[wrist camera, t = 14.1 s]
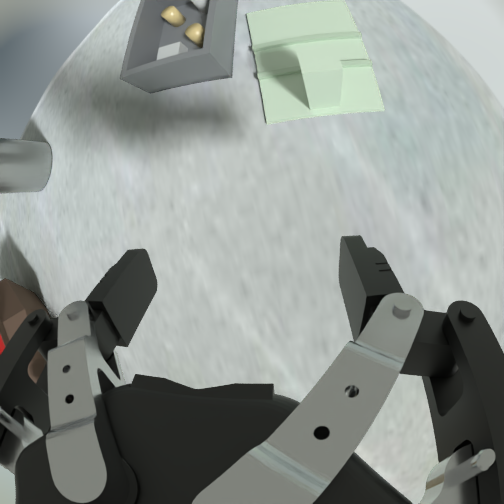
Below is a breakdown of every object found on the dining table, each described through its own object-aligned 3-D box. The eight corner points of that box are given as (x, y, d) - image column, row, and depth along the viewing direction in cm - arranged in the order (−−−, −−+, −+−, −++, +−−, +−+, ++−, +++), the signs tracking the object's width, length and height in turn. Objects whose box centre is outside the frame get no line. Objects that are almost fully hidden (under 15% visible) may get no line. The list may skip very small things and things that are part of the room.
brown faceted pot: (12, 259, 44) (-42, 273, 29) (60, 285, 39) (-14, 311, 23) (27, 347, 49) (-16, 368, 34) (81, 389, 43) (29, 426, 28)
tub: (150, 93, 28) (119, 78, 23) (166, 11, 26) (144, -9, 20) (231, 77, 25) (209, 53, 20) (238, -8, 23) (222, -34, 17)
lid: (268, 125, 26) (242, 94, 17) (248, 17, 24) (223, -26, 15) (383, 112, 22) (403, 76, 14) (344, 3, 20) (342, -44, 12)
